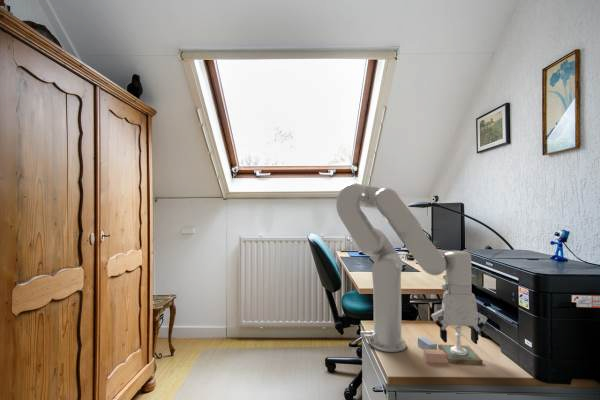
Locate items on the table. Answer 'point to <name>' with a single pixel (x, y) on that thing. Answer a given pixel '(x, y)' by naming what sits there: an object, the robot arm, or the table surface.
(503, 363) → the table surface
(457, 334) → the chess piece
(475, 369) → the table surface
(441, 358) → the terracotta brick
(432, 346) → the slate-blue brick
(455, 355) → the green-topped square tray
